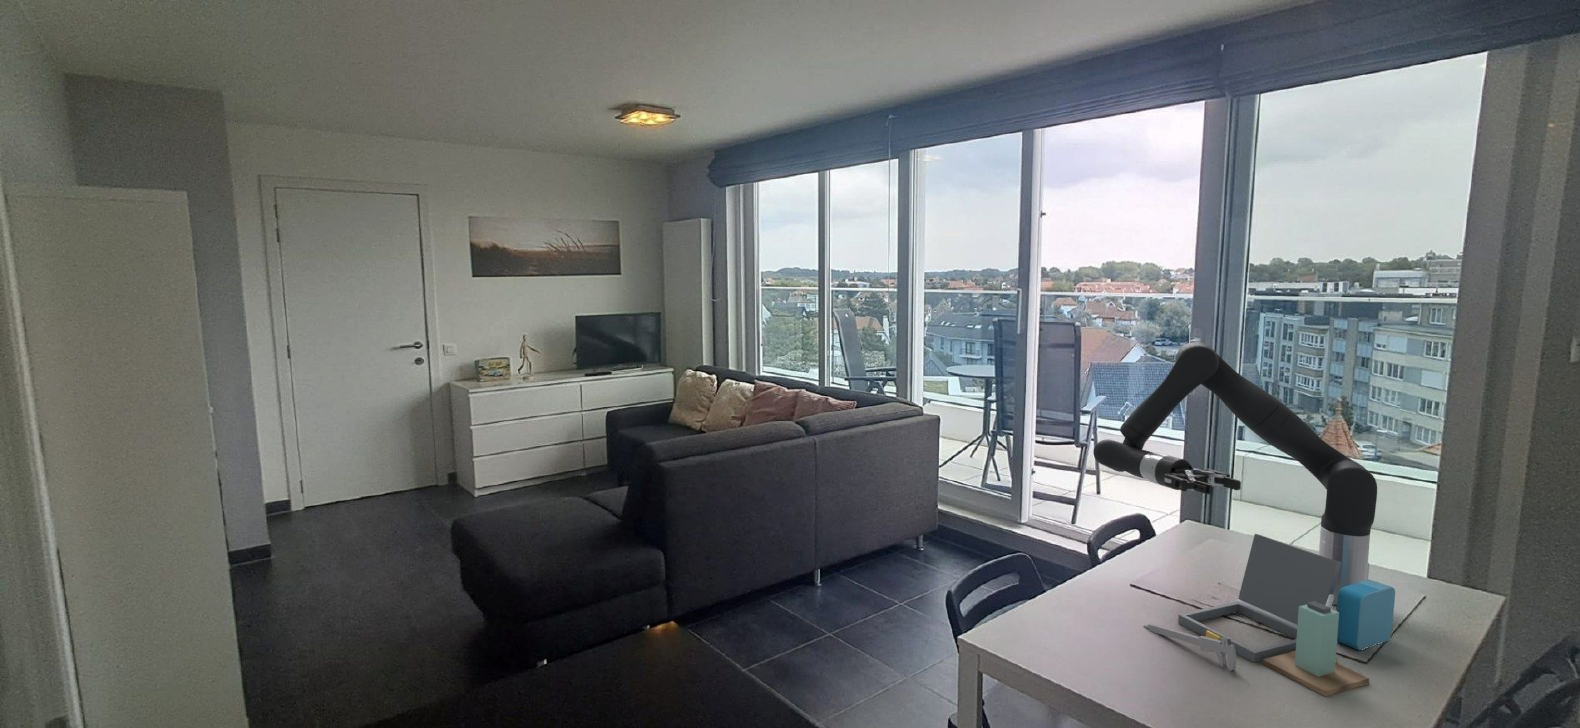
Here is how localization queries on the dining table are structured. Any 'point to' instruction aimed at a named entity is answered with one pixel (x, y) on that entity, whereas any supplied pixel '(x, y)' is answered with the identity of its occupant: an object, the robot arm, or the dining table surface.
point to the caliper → (1202, 644)
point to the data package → (1365, 614)
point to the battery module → (1316, 638)
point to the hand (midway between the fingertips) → (1225, 487)
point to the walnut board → (1321, 684)
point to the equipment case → (1273, 593)
